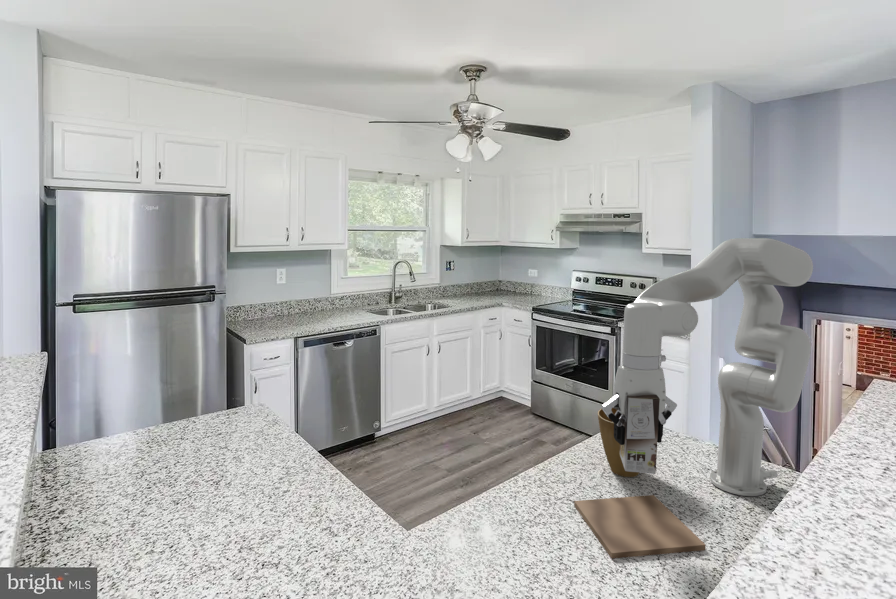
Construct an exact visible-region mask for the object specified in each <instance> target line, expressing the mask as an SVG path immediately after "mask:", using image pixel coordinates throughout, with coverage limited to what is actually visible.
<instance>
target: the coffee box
mask: <svg viewBox="0 0 896 599" xmlns="http://www.w3.org/2000/svg"><path fill="white" fill-rule="evenodd" d="M659 403H660V399H659V397H658V396H657V395H639V396H627V410H626V416H625V422H624V424H623V426H624V427H625V442H624V445H620V457H621V460H622V463H623V466H624V469H625V471H629V472H640V473H639V474H641V473H642V474H643V473H644V474H651V475H654V474H656V473H657V456H658V442H657V439H658V422H659Z"/></svg>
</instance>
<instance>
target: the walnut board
mask: <svg viewBox="0 0 896 599" xmlns="http://www.w3.org/2000/svg"><path fill="white" fill-rule="evenodd" d="M573 506H574V508H575V509H576V510H577V512H578V513H579V514H580V516H581V518H582V519H583V520H584V522H585V524H586V525H587V526H588V527H589V529H590V531H591V532H592V533H593V534H594V536H595V537H596V539H597V540H598V542H599V543H600V544H601V546H602V547H603V549H604V550H605V552H606V553H607V554H608V556H609V557H610V559H612V560H613V559H624V558H634V557H635V558H636V557H645V556H646V557H647V556H654V555H655V556H657V555H666V554H667V555H668V554H669V555H670V554H679V553H688V552H689V553H690V552H699V551H700V552H701V551H702V552H703V551H706V547H707V546H706V543H705V542H704V541H702V540H701V539H700V538H699V537H698V536H697V534H695V533H694V532H693V531H692V530H691V529H690V528H689V527H688V526H687V525H686V524H685V523H684V522H682V520H680V518H678V517H677V516H676V515H675V514H674V513H673V511H671V510H670V509H669V508H668V507H667V506H666V505H665V504H664V503H663V502H662V501H660V499H658V497H657V496H655V494H650V495H649V494H648V495H634V496H621V497H608V498H595V499H583V500H582V499H581V500H574V502H573Z"/></svg>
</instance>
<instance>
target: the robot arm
mask: <svg viewBox="0 0 896 599" xmlns="http://www.w3.org/2000/svg"><path fill="white" fill-rule="evenodd" d="M813 270H814V263H813V260H812V258H811V256H810V254H808V253H807V251H805V250H803V249H801V248H798V247H796V246H793V245H791V244H789V243H786V242H784V241H781V240H777V239H774V238H769V237H767V238H766V237H759V238H758V237H755V238H754V237H752V238H751V237H749V238H746V237H745V238H742V237H741V238H740V237H739V238H729V239H726V240H725V241H722V242H721V243H720V244H719V245H717V246H716V247H715V248H714V249H713V250H711V252H710V253H708V254H707V255H706V256H705V257H704V258H702V260H700V261H699V262H698V263H697V264H696V265H695V266H694V267H692V268H689V269H688V270H684V271H681V272H678V273H676V274H673V275H671V276H669V277H666V278H663V279H662V280H659V281H657V282H655V283H653V284H651V285H650V286H649V287H648V288H646V289H645V290H644V291H643V292H641V293H640V295H638V296H637V298H636V299H635V300H634V301H633V302H631V303H628V304H626V306H625V307H624V312H623V314H624V315H623V336H622V337H623V340H622V341H623V342H622V362H621V363H622V364H621V365H618V367H617V370H616V374H615V378H614V384H613V391H612V392H613V393H612V397H611V398H610V399H609V400H607V401H606V402H604V403H603V404H602V405H601V408H600V409H602V410H603V411H604V412H605V414H606V415H607V417H608V418H609V419H610V420H611V421H612V422H613V423H614V438H615V440H616V441H617V442H618V443H619V444H620V445H624V442H625V427H624V426H623V424H624V422H625V416H626V410H627V396H639V395H657V396H658V397H659V399H660V403H659V422H658V439H657V444H660V443H662V442H663V441H662V438H663V437H664V425H666V423H667V420H669V418H670V417H671V416H672V413H673V412H674V411H676V410H675V409H677V407H678V404H677V403H676V402H675V401H673V400H672V399H671V398H669V397H668V396H667V394H666V393H667V391H666V379H665V374H664V369H663V367H662V362H666V361H667V357H666V355H664V354H663V355H662V342H663V341H662V339H663V337H675V338H677V337H685V336H688V335H689V334H691V333H693V332H694V330H695V329H696V327H697V326H698V324H699V314H698V312H697V310H696V309H695V307H694V306H692V305H691V304H690V303H699V302H705V301H709V300H714V299H717V298H719V297H721V296H722V295H723V294H724V293H725V292H727V290H728V289H729V288H731V287H732V286H733V285H734V284H735V283H736V282H738V283H739V286H740V288H741V292H742V295H743V306H742V310H741V314H740V318H739V322H738V323H739V324H738V326H737V330H736V335H735V340H734V349H735V351H736V353H737V354H738V355H740V356H742V357H744V358H747V359H750V360H755V361H760V362H765V363H770V364H775V365H776V366H775V367H776V368H775V369H774V368H773V369H772V368H768V367H766V366H765V367H764V366H761V365H756V364H753V363H752V364H751V363H748V362H747V363H746V362H740V361H739V362H738V361H737V362H736V361H734V362H730V363H726V364H725V365H723V366H722V367H721V368H720V371H719V373H718V374H717V375H718V376H717V386H718V392H719V393H718V394H719V399H720V401H719V402H720V416H719V417H720V421H719V435H718V446H717V447H718V450H717V465H716V469H715V470H713V471H711V472H710V474H709V481H710V482H711V484H712V485H713V486H715V487H716V488H718V489H720V490H722V491H724V492H727V493H731V494H734V495H738V496H742V497H743V496H744V497H757V496H758V497H759V496H762V495H764V494H766V492H767V483H766V482H765V481H766V480H767V479H777V478H778V476H779V474H778V472H777V470H776V469H768V470H766V469H765V467H764V466H762V458H763V457H762V455H763V442H764V430H765V429H764V427H765V421H764V416H763V414H762V411H761V408H763V409H766V410H769V411H773V412H778V413H788V412H791V411H792V410H794V409H795V408H796V406H797V404H798V402H799V400H800V397H801V393H802V390H803V385H804V383H805V378H806V374H807V370H808V366H809V362H810V359H811V354H812V353H811V352H812V343H811V338H810V336H809V334H808V332H806V331H805V330H804V329H802V328H801V327H796V326H791V325H785V324H781V321H782V317H783V316H782V315H783V312H784V301H783V299H782V296H781V295H780V293H779V291H778V289H777V288H776V287H775V286H780V287H781V286H782V287H783V286H784V287H800V286H803V285H804V284H806V283H807V282H808V281H809V280H810V278H811V277H812V275H813ZM612 408H614V409H617V411H616V413H615V415H614V414H613V413H612V411H611V409H612ZM764 480H765V481H764Z"/></svg>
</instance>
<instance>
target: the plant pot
mask: <svg viewBox="0 0 896 599" xmlns="http://www.w3.org/2000/svg"><path fill="white" fill-rule="evenodd" d="M611 411H612V413H613V414H614V415H615V413H616V411H617V409H614V408H612V409H611ZM597 420H598V426H599V433H600V437H601V442H602V446H603V451H604V454H605V457H606V459H607V462H608V466H609V468H610V471H611V472H612V473H613V474H615V475H617V476H620V477H625V478H634V477H637V476H639V475H640V474H641V473H640V472H629V471H625V469H624V466H623V463H622V460H621V457H620V444H619V443H618V442H617V441H616V440H615V438H614V423H613V422H612V421H611V420H610V419H609V418H608V417H607V415H606V414H605V412H604V411H603V410H602V408H600V409H599V410H598V411H597Z"/></svg>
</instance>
